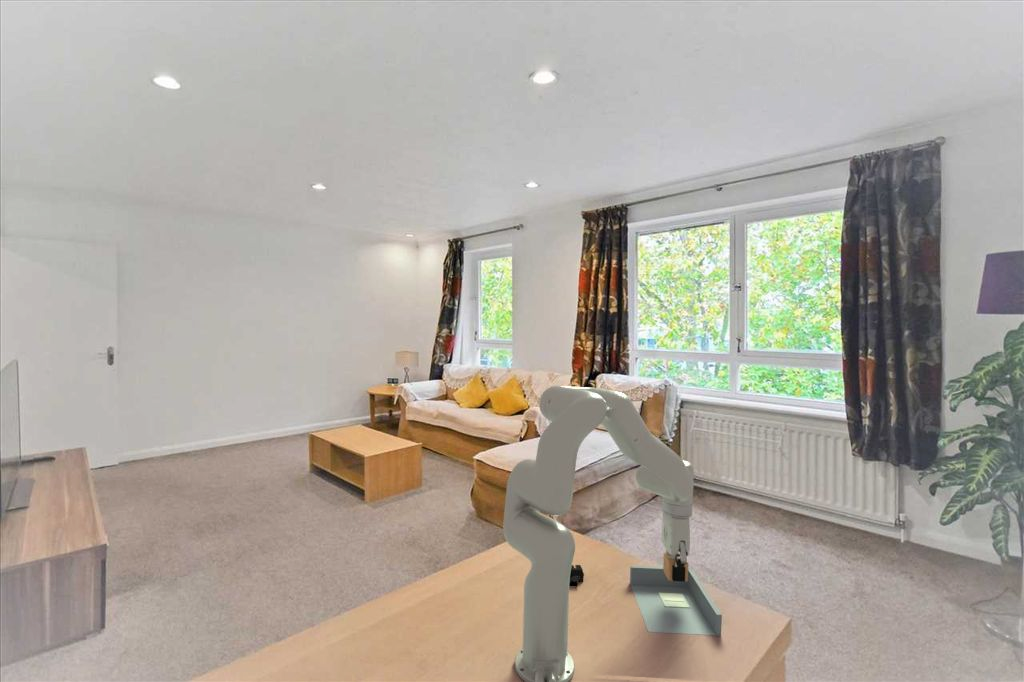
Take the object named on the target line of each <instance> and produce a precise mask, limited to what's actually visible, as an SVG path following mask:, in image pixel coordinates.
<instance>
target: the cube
mask: <svg viewBox="0 0 1024 682" xmlns="http://www.w3.org/2000/svg"><path fill="white" fill-rule="evenodd" d="M678 554H680V552H678ZM678 559H680V557H677V560H678ZM662 564H663V566H662V567H663V571H664V573H665V575H666V577H667V579H668V580H670V581H673V580H672V565H674V557H673V556H671V555H670V554H669V553H666V552H663V563H662ZM688 568H689V561H688V560H687V563H686V567H685V581H688Z"/></svg>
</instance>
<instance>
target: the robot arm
mask: <svg viewBox="0 0 1024 682" xmlns="http://www.w3.org/2000/svg"><path fill="white" fill-rule="evenodd" d="M539 410H540V412H541V415H542V416H543V417H544V419H546V420H547V421H550V423H549V424H548V425H547V426H546V427H545V429H544V430H543V432H542V434H541V436H540V437H539V440H538V444H537V450H536V455H535V459H532V458H531V459H524V460H521V461H519V462H518V463H516V464H515V466H514V467H513V469H512V470H511V472H510V474H509V477H508V479H507V482H506V492H505V493H506V494H505V502H504V512H503V523H502V524H503V527H502V529H503V535H504V539H505V541H506V543H507V544H508V545H509V546H510V547H511V548H512V549H514V550H515V551H517V552H518V553H520V554H521V555H522V556H524V557H525V558H526V559H528V560H529V561H530V563H531V567H530V569H529V571H528V573H527V574H526V576H525V579H524V585H523V586H524V587H523V621H522V622H523V625H522V648H521V649H520V650H519V651H518V652H517V654H516V656H515V660H514V667H515V672H516V673H517V675H518V676H519V678H520V679H522V681H524V682H569V681H570V680H571V679H572V678H573V676H574V673H575V661H574V658H573V657H572V655H571V654H570V653H569V652H568V643H569V642H568V639H569V609H570V607H569V606H570V604H569V603H570V602H569V601H570V587H569V581H570V572H571V566H572V565H573V561H574V558H575V553H576V552H575V551H576V541H575V537H574V535H573V533H572V532H571V530H569V528H568V527H567V526H565V525H564V524H563V523H561V522H559V521H558V520H556V519H554V518H552V517H550V516H554V517H555V516H556V517H559V516H564V515H565V514H566V513H567V512H568V511H569V510H570V508H571V505H572V502H573V498H574V497H573V495H574V488H575V476H576V467H577V458H578V453H579V449H580V447H581V444H582V443H583V441H584V440H586V438H587V437H588V436H589V434H591V433H592V432H593V431H594V430H595V429H597V428H598V427H599V426H600V425H601V426H602V427H604V428H605V429H606V431H607V433H608V434H609V435H610V437H611V438H612V440H613V442H614V443H615V445H616V446H617V447H618V449H619V451H620V452H621V453H622V454H623V455H624V456H625V457H627V459H630V460H631V461H632V462H634V463H636V464H638V465H639V467H638V468H637V470H636V473H635V481H636V483H637V485H638V486H639V488H641V489H642V490H643V491H645V492H649V493H652V494H653V495H657V496H660V497H662V502H661V503H662V504H661V505H662V508H661V509H662V510H661V511H662V514H663V515H662V523H661V524H662V525H661V538H660V539H661V542H662V544H663V546H664V548H665V549H666V551H665V553H669V554H670V555H671V556H673V557H674V565H672V580H673V581H682V582H684V581H685V567H686V563H687V561H688V558H687V557H688V556H689V555H690V549H691V547H690V546H691V529H690V525H691V524H690V518H691V517H693V504H694V501H693V500H694V498H693V497H694V465H693V464H692V463H691V462H690V461H687V460H683V459H682V458H681V457H680V456H679V455H678V454H677V453H676V452H675V451H674V450H673V449H672V448H670V447H669V446H668V445H666V444H665V443H664V442H663V441H662V440H660V439H659V438H658V437H656V436H655V435H654V434H653V433H652V432H651V431H650V429H649V428H648V426H647V424H646V423H645V421H644V420H643V418H642V416H641V414H640V413H639V412H638V410H637V408H636V406H635V405H634V403H633V402H632V400H631V398H630V397H629V396H627V395H626V394H625V393H623V392H621V391H617V390H613V389H612V390H611V389H604V388H599V387H598V388H597V387H591V386H589V387H586V386H585V387H584V386H568V385H552V386H550V387H548V388H547V389H546V390H544V391H543V392H542V393H541V396H540V399H539ZM548 515H549V516H548ZM678 553H680V554H678ZM677 557H680V559H678V560H677Z"/></svg>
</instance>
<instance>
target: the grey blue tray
mask: <svg viewBox="0 0 1024 682" xmlns="http://www.w3.org/2000/svg"><path fill="white" fill-rule="evenodd" d="M629 569H630V570H629V585H630V587H631V590H632V592H633V595H634V597H635V600H636V602H637V605H638V608H639V611H640V614H641V616H642V618H643V621H644V624H645V627H646V629H647V632H648V633H656V634H657V633H658V634H659V633H660V634H662V633H663V634H676V635H677V634H678V635H680V634H681V635H698V636H700V635H701V636H716V637H717V636H719V637H720V636H722V626H723V625H722V622H723V619H722V618H723V615H722V613H721V612H720V609H719V608H718V607H717V605H716V603H715V601H713V599H712V597H711V596H710V595H709V592H708V591H707V590H706V588H705V587H704V586H703V584H702V582H701V580H700V579H699V578H698V576H697V575H696V573H695V572H694V570H693V568H692V567H688V581H684V582H682V581H670V580H668V579H667V577H666V575H665V573H664V571H663V566H652V565H651V566H650V565H648V566H647V565H632V564H631V565H630V566H629Z"/></svg>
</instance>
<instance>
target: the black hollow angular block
mask: <svg viewBox="0 0 1024 682" xmlns="http://www.w3.org/2000/svg"><path fill="white" fill-rule="evenodd" d="M584 577H585V573H584V570H583V568H582V566H581V564H576V565H574V564H572V566H571V572H570V581H569V586H575V587H578V583H580V582H581V583H584Z"/></svg>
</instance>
